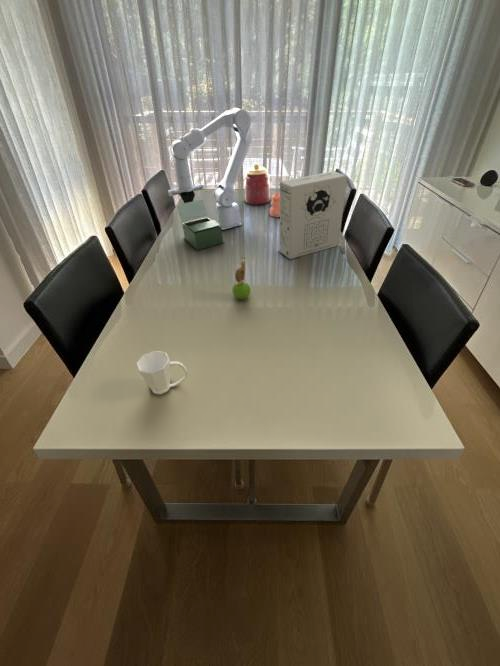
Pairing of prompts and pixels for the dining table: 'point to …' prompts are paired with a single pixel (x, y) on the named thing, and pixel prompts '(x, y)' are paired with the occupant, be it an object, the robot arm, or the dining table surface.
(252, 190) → the kitchen canister
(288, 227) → the cereal box
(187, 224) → the box
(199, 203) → the pale green slab
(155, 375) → the cup
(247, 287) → the figurine on green ball
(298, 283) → the dining table surface
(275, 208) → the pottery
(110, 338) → the dining table surface
